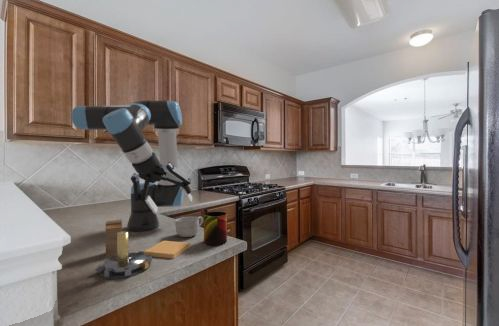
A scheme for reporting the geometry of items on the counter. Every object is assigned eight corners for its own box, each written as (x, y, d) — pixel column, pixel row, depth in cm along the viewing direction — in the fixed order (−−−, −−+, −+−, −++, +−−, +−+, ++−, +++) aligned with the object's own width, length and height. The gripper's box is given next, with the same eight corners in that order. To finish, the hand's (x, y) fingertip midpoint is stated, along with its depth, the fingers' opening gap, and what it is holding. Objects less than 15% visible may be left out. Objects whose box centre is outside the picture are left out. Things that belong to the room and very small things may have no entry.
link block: (107, 252, 88) (106, 220, 88) (122, 250, 91) (122, 219, 91) (105, 257, 84) (105, 224, 84) (121, 254, 86) (121, 222, 86)
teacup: (180, 241, 101) (179, 222, 101) (171, 234, 110) (171, 217, 110) (209, 235, 109) (209, 217, 109) (199, 229, 118) (199, 213, 118)
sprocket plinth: (124, 257, 84) (124, 256, 84) (159, 260, 81) (159, 259, 81) (87, 276, 70) (87, 275, 70) (128, 281, 67) (128, 280, 67)
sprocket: (123, 254, 85) (123, 221, 85) (161, 258, 81) (161, 224, 81) (85, 274, 70) (85, 234, 70) (129, 280, 66) (128, 238, 66)
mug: (222, 234, 110) (222, 209, 110) (229, 244, 96) (228, 215, 96) (201, 236, 107) (201, 210, 107) (205, 247, 94) (205, 217, 93)
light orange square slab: (163, 244, 97) (163, 240, 97) (190, 246, 94) (190, 242, 94) (144, 255, 85) (144, 251, 85) (173, 258, 83) (173, 254, 83)
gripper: (101, 175, 71) (138, 222, 82) (177, 150, 69) (205, 202, 80) (111, 163, 78) (145, 208, 89) (181, 140, 76) (206, 189, 87)
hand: (173, 205), depth 85 cm, fingers open, 13 cm apart
